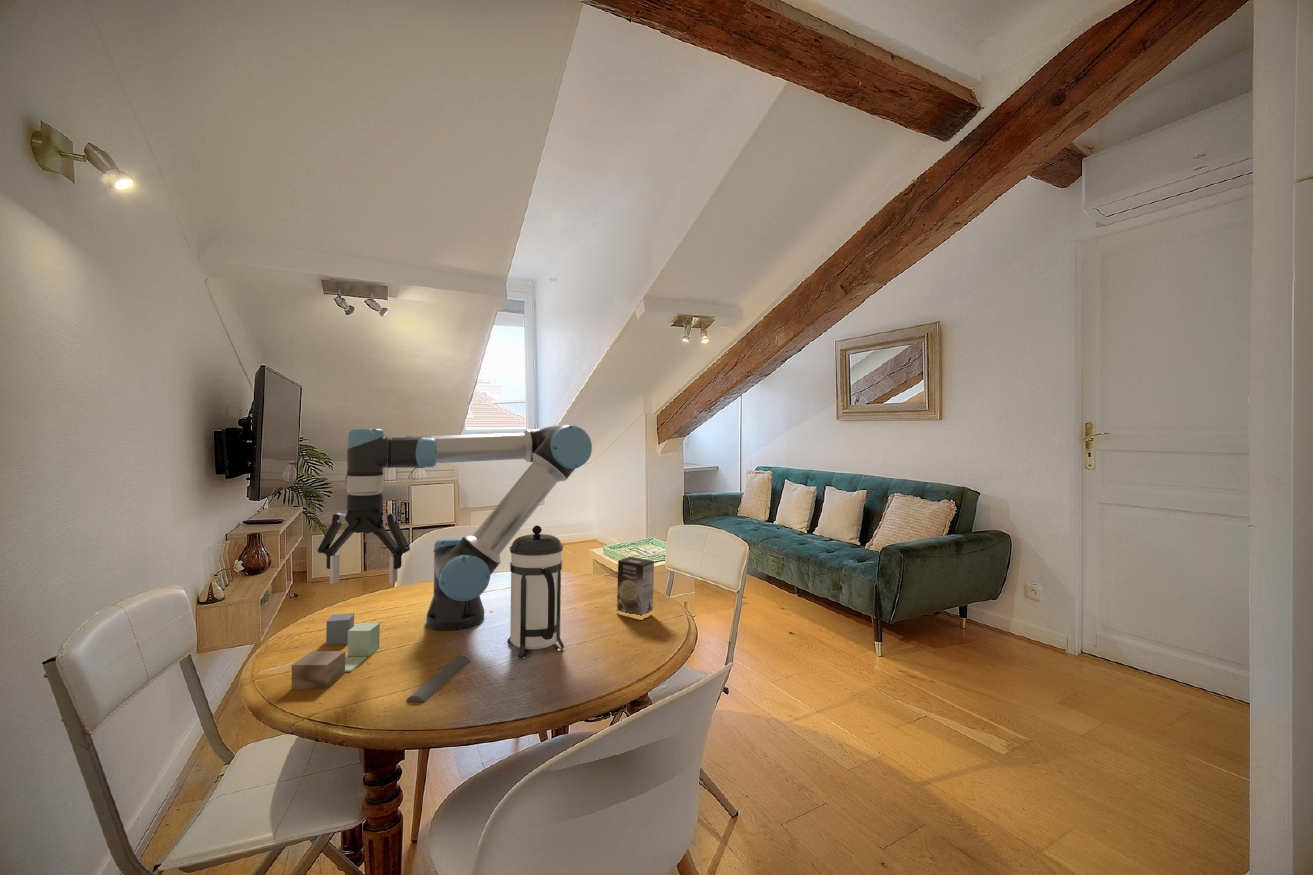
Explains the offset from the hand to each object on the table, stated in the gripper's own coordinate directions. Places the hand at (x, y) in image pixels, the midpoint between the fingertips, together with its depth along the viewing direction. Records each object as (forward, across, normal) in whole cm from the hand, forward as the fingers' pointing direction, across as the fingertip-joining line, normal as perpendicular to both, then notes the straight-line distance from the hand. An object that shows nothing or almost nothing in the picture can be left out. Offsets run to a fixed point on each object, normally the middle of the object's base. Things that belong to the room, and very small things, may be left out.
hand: (364, 582), depth 128 cm
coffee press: (+17, -41, -1) cm, 44 cm away
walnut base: (+17, +2, +15) cm, 23 cm away
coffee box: (+17, -65, -25) cm, 72 cm away
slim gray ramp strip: (+17, -23, +15) cm, 33 cm away
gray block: (+17, +9, -7) cm, 20 cm away
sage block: (+17, 0, 0) cm, 17 cm away
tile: (+16, +1, +8) cm, 18 cm away
